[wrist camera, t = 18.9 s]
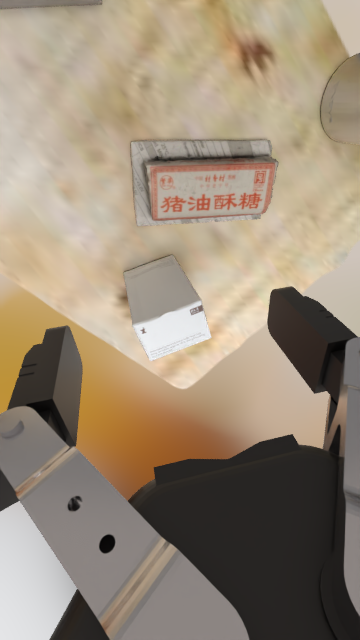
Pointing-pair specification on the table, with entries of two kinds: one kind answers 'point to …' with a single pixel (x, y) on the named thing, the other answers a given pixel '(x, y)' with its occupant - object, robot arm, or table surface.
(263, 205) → the packaged product
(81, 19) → the table surface
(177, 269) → the skincare box
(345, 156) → the table surface
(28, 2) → the grey open tray
